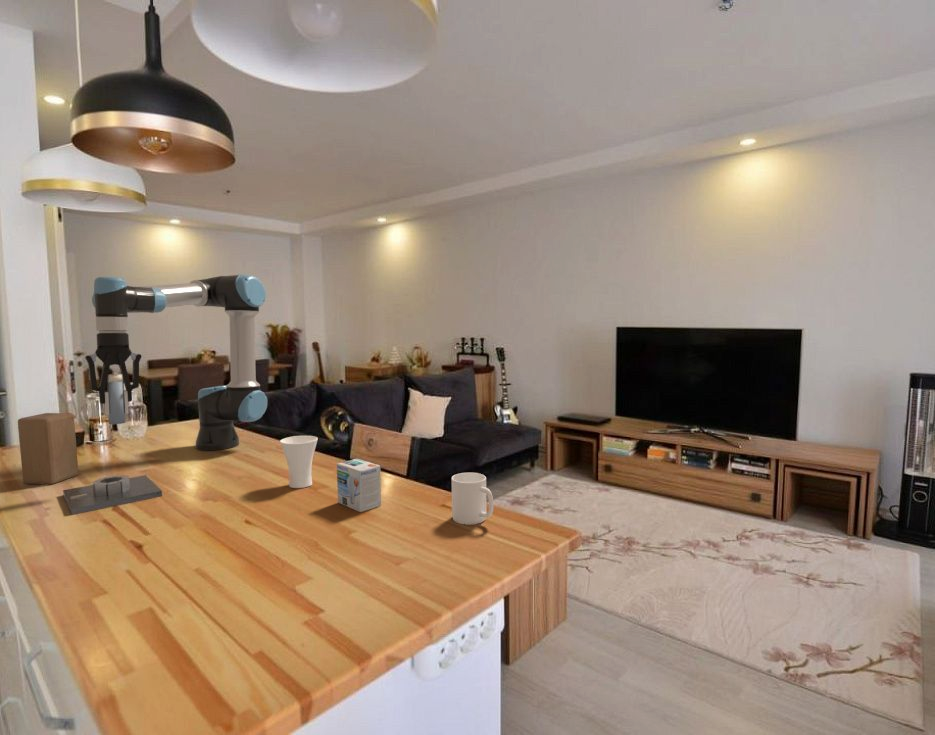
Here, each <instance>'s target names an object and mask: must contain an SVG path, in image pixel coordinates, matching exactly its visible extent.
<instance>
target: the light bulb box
mask: <svg viewBox="0 0 935 735" xmlns="http://www.w3.org/2000/svg"><path fill="white" fill-rule="evenodd" d="M336 477H337V479H336V482H337V483H336V484H337V485H336V486H337V503H338V504H340V505H343V506H345V507H348V508H350V509H352V510H353V511H356V512H359V513H363V512H367V511H370V510H372V509H375V508H379V507H381V506H382V490H381V489H382V485H381V484H382V483H381V480H382V479H381V465H380V464H376V463H373V462H370V461H366V460H363V459H360V458H353V459H350V460H347V461H342V462H339V463H338V462H337V463H336Z"/></svg>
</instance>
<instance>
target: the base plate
mask: <svg viewBox="0 0 935 735" xmlns="http://www.w3.org/2000/svg"><path fill="white" fill-rule="evenodd" d="M62 493H63V498H64V501H65V502H66V505H67V507H68V509H69V511H70V513H71V515H72V516H73V515H77V514H82V513H87V512H88V513H89V512H92V511H96V510H102V509H106V508H111V506H112V507H116V506H121V505H126V504H131V503H135V502H139V501H143V500H149V499H155V498H158V497H162V496H163V492H162V489H161V488H160V487H159V486H157V485H156V484H155V482H154V481H152V480H151V478H149V477H148V476H147V475H146V474H144V475H139V476H133V477H130V476H128V475H119V474H118V475H111V476H106V477H101V478H98V479H96V480H94V481H92V484H90V485H84V486H79V487H74V488H68V489H67V488H66V489H63V490H62Z"/></svg>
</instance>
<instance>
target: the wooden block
mask: <svg viewBox="0 0 935 735" xmlns="http://www.w3.org/2000/svg"><path fill="white" fill-rule="evenodd" d="M17 429H18V441H19V451H20V453H19V454H20V461H21V472H22V481H23V483H24V484H28V485H29V484H31V485H34V484H35V485H53V484H57V483H59V482H63V481H65V480H68V479H71V478H73V477H76V476H77V475H79V464H78V448H77V440H76V439H77V438H76V425H75V416H74V414H73V413H71V412H69V413H68V412H63V413H62V412H44V413H40V414H35V415H30V416H25V417H20V418H19V419H17Z"/></svg>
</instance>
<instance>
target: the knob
mask: <svg viewBox="0 0 935 735" xmlns="http://www.w3.org/2000/svg"><path fill="white" fill-rule="evenodd" d="M124 390H125V385H124V380H123V374H121V373H119V372H117V371H112V373H111V374H109V373H108V377H107V383H106V392H108V396H109V415H107V416H108V425H122V424H125V423H126V414H125V404H124Z"/></svg>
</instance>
